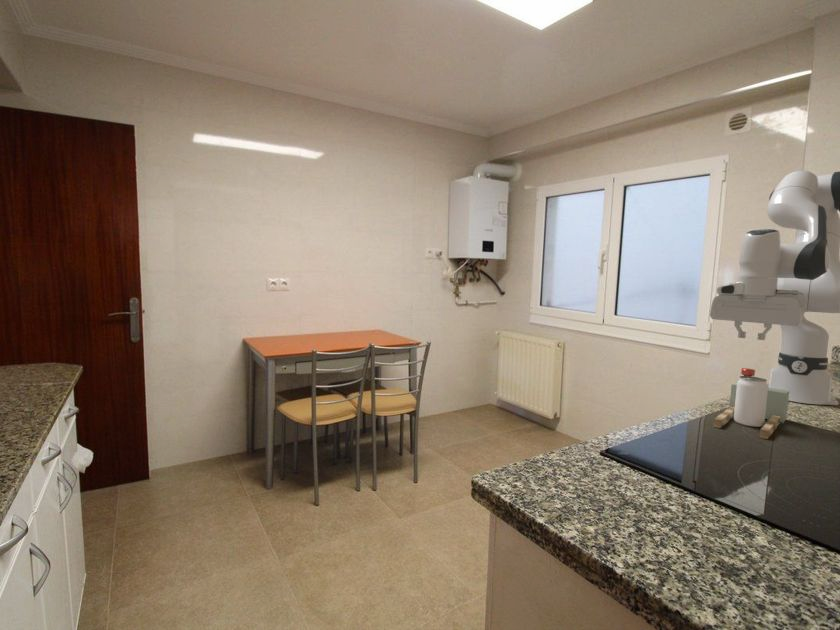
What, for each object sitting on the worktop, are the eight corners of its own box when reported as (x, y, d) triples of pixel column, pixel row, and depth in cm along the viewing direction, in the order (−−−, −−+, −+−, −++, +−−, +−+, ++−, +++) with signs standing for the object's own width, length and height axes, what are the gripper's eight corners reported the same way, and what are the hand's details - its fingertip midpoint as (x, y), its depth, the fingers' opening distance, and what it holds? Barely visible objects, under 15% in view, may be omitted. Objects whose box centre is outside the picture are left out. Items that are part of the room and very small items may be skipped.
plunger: (740, 393, 127) (743, 367, 126) (753, 396, 124) (756, 369, 124) (737, 395, 125) (740, 369, 124) (751, 397, 122) (753, 371, 122)
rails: (729, 413, 124) (730, 406, 124) (779, 424, 116) (780, 416, 116) (713, 426, 112) (713, 418, 112) (767, 439, 104) (768, 431, 104)
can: (753, 420, 119) (758, 376, 118) (770, 428, 112) (775, 381, 111) (728, 418, 119) (732, 374, 118) (743, 426, 113) (747, 380, 112)
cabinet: (733, 408, 129) (735, 381, 128) (786, 419, 120) (789, 390, 119) (729, 412, 125) (731, 384, 125) (783, 423, 117) (786, 393, 116)
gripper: (807, 290, 116) (801, 342, 118) (716, 287, 131) (712, 333, 132) (804, 290, 112) (798, 344, 113) (710, 287, 127) (706, 335, 128)
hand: (751, 338), depth 123 cm, fingers open, 3 cm apart
